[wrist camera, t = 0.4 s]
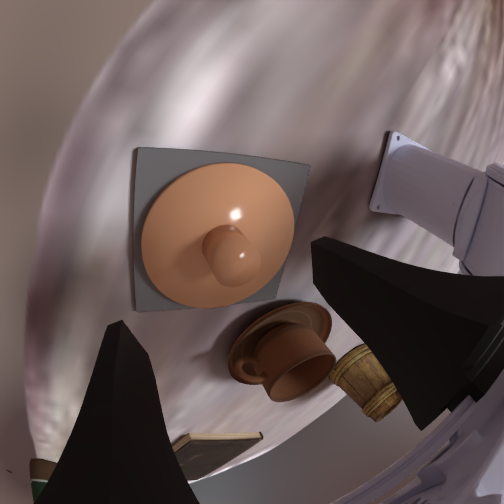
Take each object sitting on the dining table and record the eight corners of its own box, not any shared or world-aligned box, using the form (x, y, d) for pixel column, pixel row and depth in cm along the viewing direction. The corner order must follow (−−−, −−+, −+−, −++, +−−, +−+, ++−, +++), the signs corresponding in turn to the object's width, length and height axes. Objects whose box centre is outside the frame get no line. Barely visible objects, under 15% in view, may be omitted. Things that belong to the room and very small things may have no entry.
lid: (303, 171, 19) (334, 186, 16) (271, 295, 24) (291, 321, 21) (145, 156, 15) (148, 169, 12) (142, 306, 19) (147, 341, 17)
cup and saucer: (226, 383, 30) (246, 426, 25) (216, 313, 23) (243, 367, 19) (313, 351, 34) (339, 385, 29) (330, 278, 27) (369, 316, 23)
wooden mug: (394, 330, 43) (459, 396, 29) (340, 382, 44) (396, 454, 30) (384, 314, 37) (463, 394, 23) (320, 376, 39) (385, 463, 25)
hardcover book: (133, 471, 37) (135, 480, 35) (186, 428, 33) (191, 441, 32) (196, 471, 47) (199, 479, 45) (259, 429, 43) (264, 439, 41)
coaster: (307, 164, 20) (310, 165, 19) (272, 296, 25) (274, 299, 25) (138, 146, 14) (138, 148, 14) (136, 308, 20) (136, 312, 19)
